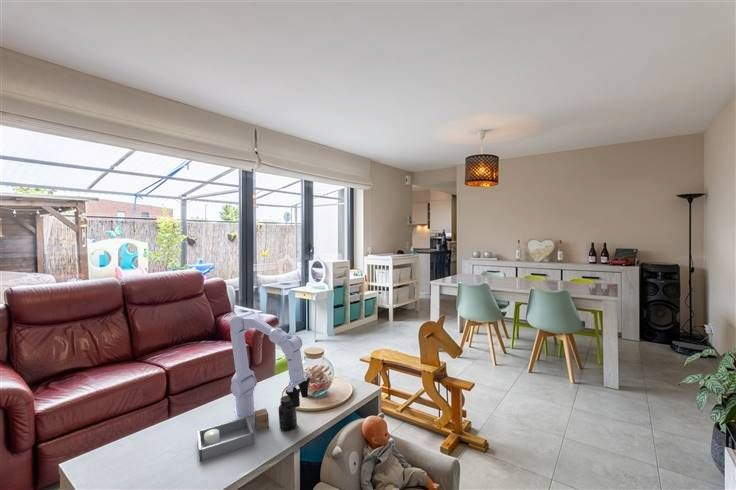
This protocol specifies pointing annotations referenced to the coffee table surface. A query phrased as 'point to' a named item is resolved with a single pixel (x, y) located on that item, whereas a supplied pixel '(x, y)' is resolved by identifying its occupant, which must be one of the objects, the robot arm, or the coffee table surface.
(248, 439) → the tote
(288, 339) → the robot arm
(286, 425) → the supplement bottle
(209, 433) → the pale green cylinder
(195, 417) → the coffee table surface
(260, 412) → the walnut block
